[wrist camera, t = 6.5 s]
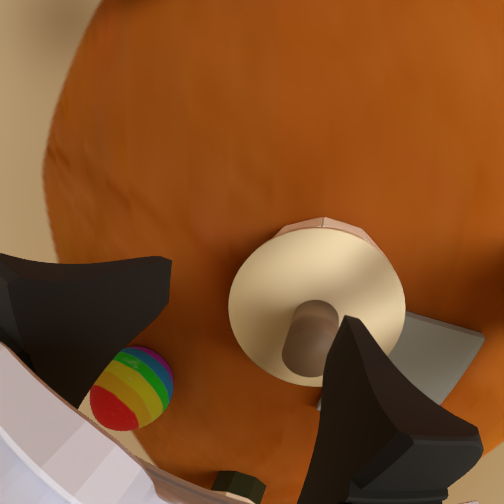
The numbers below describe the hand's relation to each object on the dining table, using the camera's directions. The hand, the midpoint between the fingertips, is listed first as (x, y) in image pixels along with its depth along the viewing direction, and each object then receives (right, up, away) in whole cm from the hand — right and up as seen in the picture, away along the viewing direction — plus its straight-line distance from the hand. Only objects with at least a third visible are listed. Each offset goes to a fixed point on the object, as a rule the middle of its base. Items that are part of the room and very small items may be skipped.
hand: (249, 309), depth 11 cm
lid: (+4, -2, +6) cm, 8 cm away
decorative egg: (-11, -11, +18) cm, 24 cm away
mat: (+13, -9, +10) cm, 19 cm away
